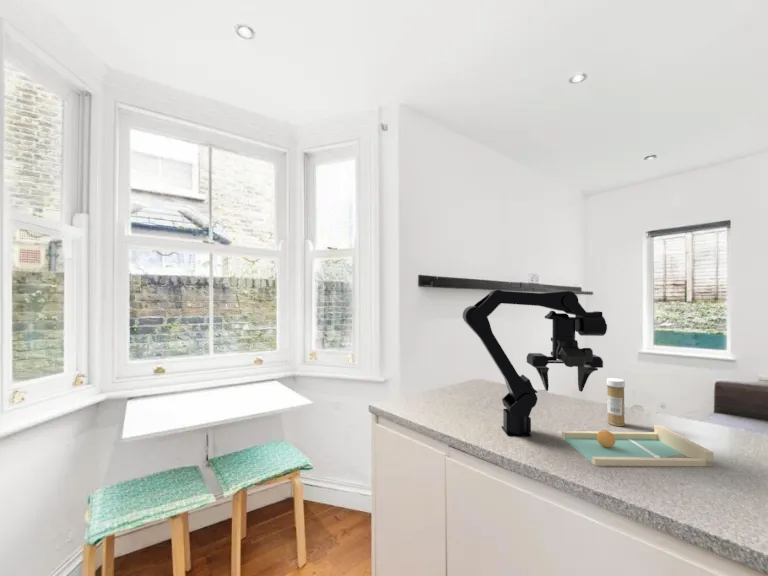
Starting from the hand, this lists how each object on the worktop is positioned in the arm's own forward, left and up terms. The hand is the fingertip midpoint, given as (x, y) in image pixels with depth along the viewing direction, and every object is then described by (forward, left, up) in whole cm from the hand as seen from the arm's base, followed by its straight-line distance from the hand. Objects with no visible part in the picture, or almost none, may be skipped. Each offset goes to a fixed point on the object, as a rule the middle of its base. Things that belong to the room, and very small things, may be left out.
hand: (563, 390), depth 99 cm
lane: (+11, -11, -12) cm, 20 cm away
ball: (+6, -10, -9) cm, 15 cm away
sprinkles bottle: (+19, +8, -12) cm, 24 cm away
